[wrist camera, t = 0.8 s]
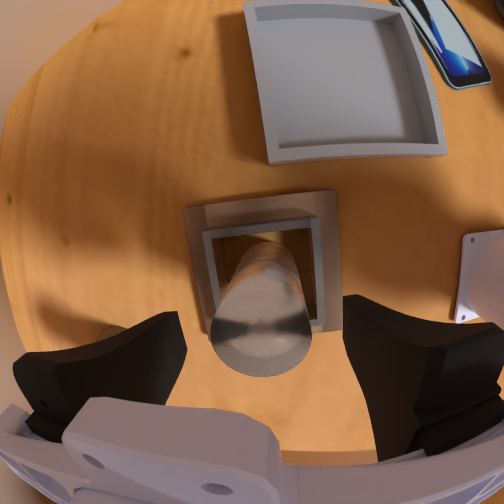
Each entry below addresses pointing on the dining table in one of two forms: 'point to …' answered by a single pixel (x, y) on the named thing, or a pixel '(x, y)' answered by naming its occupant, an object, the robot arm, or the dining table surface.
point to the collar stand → (269, 220)
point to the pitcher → (500, 6)
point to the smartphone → (447, 43)
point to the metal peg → (263, 314)
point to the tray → (342, 81)
